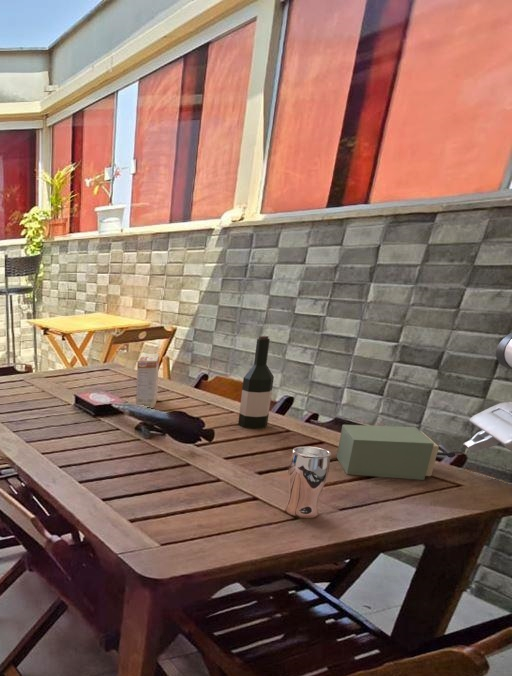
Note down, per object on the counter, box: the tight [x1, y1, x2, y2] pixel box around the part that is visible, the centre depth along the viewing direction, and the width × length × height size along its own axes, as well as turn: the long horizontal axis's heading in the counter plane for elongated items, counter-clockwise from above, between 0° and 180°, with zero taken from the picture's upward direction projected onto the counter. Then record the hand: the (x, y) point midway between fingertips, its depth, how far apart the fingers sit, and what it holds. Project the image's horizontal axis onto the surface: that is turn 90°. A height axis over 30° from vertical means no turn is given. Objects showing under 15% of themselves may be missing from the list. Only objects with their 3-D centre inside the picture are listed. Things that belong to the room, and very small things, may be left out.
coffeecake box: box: [135, 353, 160, 408], centre depth 200 cm, size 15×7×20 cm, turn 150°
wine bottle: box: [237, 335, 275, 430], centre depth 162 cm, size 8×8×30 cm
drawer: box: [419, 430, 456, 477], centre depth 125 cm, size 18×11×8 cm, turn 61°
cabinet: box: [335, 424, 434, 481], centre depth 127 cm, size 15×13×10 cm
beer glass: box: [284, 445, 332, 519], centre depth 110 cm, size 7×7×15 cm
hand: (467, 448), depth 118 cm, fingers closed
